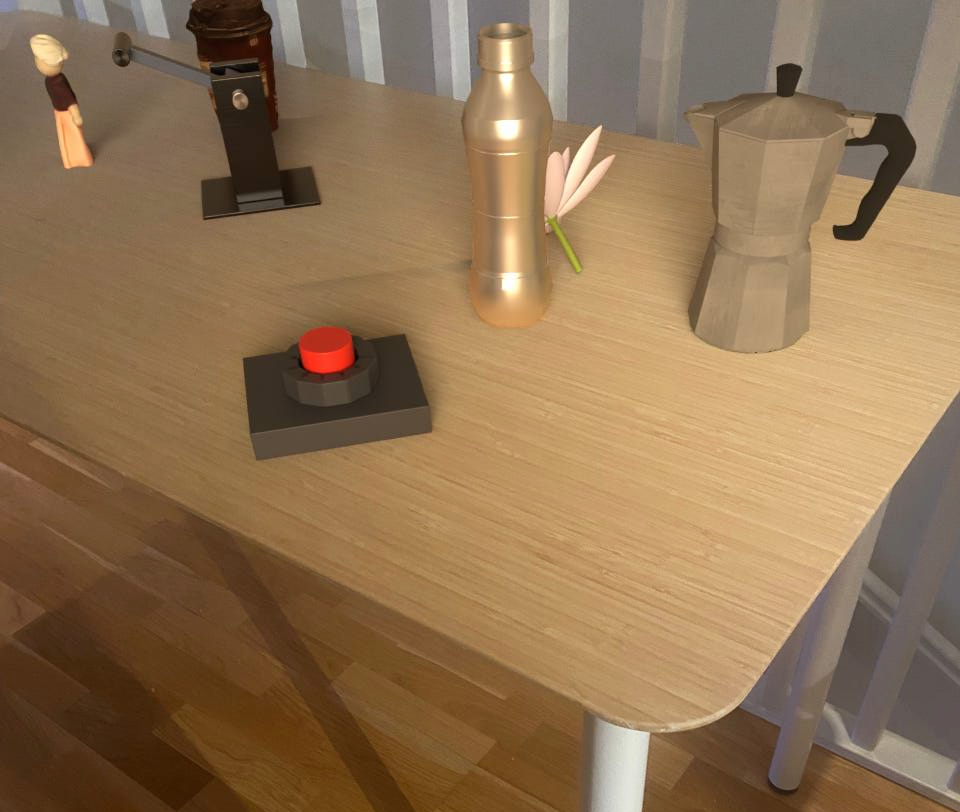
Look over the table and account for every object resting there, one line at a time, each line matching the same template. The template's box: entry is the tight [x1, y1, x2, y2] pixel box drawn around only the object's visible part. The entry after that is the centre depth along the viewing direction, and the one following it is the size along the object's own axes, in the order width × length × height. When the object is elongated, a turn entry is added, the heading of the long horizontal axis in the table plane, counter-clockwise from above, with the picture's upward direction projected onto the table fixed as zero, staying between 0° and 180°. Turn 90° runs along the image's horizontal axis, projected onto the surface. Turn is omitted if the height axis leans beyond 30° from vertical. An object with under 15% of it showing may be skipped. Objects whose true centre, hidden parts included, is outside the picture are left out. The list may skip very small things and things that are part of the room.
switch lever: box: [111, 31, 240, 89], centre depth 87 cm, size 12×5×2 cm, turn 102°
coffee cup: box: [185, 0, 280, 134], centre depth 103 cm, size 9×8×13 cm
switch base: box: [242, 333, 433, 462], centre depth 69 cm, size 12×10×4 cm
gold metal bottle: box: [460, 22, 554, 328], centre depth 71 cm, size 6×7×20 cm
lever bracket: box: [200, 58, 322, 221], centre depth 91 cm, size 11×9×12 cm
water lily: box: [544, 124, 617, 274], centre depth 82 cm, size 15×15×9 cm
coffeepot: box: [681, 62, 918, 354], centre depth 69 cm, size 15×9×18 cm, turn 67°
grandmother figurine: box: [29, 33, 94, 170], centre depth 99 cm, size 8×4×13 cm, turn 43°
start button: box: [298, 326, 355, 375], centre depth 67 cm, size 4×4×2 cm
